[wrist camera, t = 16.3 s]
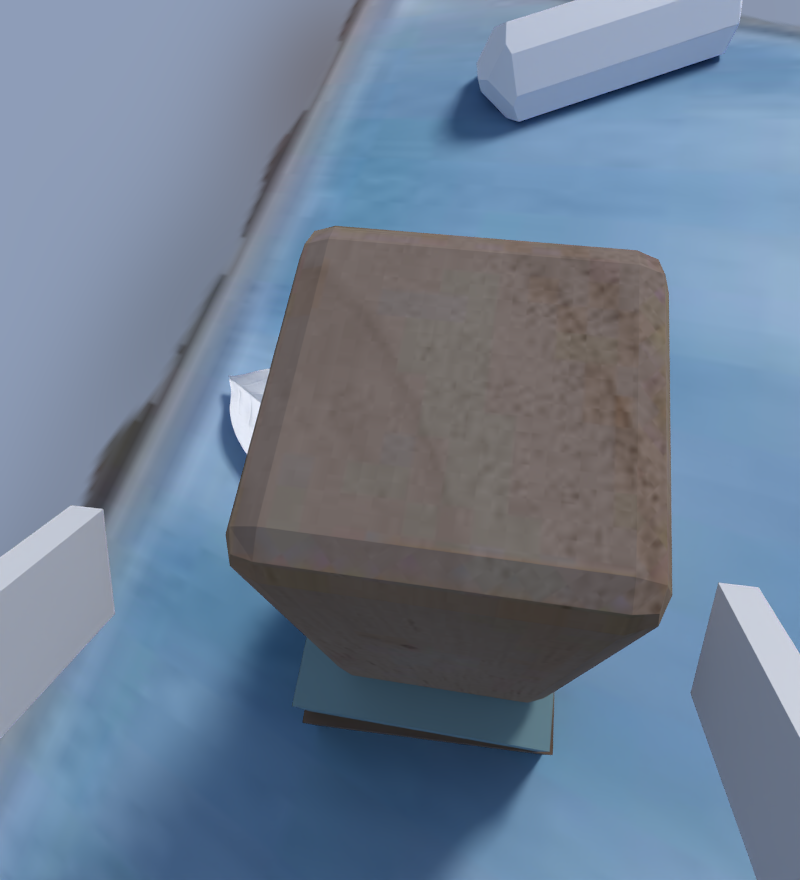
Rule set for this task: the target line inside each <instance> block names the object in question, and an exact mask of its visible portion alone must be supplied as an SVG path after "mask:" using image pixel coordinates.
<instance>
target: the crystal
mask: <svg viewBox="0 0 800 880" xmlns="http://www.w3.org/2000/svg"><path fill="white" fill-rule="evenodd" d="M742 2H743V0H575V1H572V2H569V3H566V4H562V5H559V6H556V7H553V8H550V9H547V10H543V11H540V12H537V13H534V14H531V15H528V16H525V17H521V18H518V19H515V20H512V21H509V22H506V23H503V24H501V25H498V26H496V27H494V29H493V31H492V33H491V35H490V37H489V39H488V41H487V43H486V45H485V47H484V49H483V51H482V53H481V55H480V57H479V59H478V61H477V73H478V81H479V86H480V90H481V92H482V93H483V94H484V95H485V96H486V97H487V98H488V99H489V100H490V101H491V102H492V103H493V104H494V105H495V107H496V108H497V109H498V110H499V111H500V112H501V113H502V114H503V115H504V116H505V117H506V118H509V119H512V120H515V121H518V122H520V121H523V120H526V119H529V118H532V117H535V116H538V115H541V114H544V113H547V112H550V111H553V110H556V109H559V108H562V107H565V106H568V105H571V104H574V103H577V102H580V101H583V100H586V99H589V98H592V97H595V96H598V95H601V94H604V93H607V92H610V91H613V90H616V89H619V88H622V87H625V86H628V85H631V84H634V83H637V82H640V81H643V80H646V79H649V78H652V77H655V76H658V75H661V74H664V73H667V72H670V71H673V70H676V69H679V68H682V67H685V66H688V65H691V64H694V63H697V62H700V61H703V60H706V59H709V58H712V57H715V56H718V55H721V54H724V53H725V51H726V49H727V47H728V45H729V43H730V41H731V39H732V37H733V35H734V33H735V31H736V29H737V27H738V25H739V22H740V15H741V9H742ZM711 32H712V33H711ZM708 33H709V34H708ZM705 34H706V35H705ZM702 35H703V36H702ZM699 36H700V37H699ZM696 37H697V38H696ZM693 38H694V39H693ZM690 39H691V40H690ZM687 40H688V41H687ZM684 41H685V42H684ZM681 42H682V43H681ZM644 54H645V55H644ZM641 55H642V56H641ZM638 56H639V57H638ZM635 57H636V58H635ZM632 58H633V59H632ZM629 59H630V60H629ZM626 60H627V61H626ZM623 61H624V62H623ZM571 78H572V79H571ZM568 79H569V80H568ZM565 80H566V81H565Z"/></svg>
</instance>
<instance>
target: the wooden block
mask: <svg viewBox="0 0 800 880" xmlns="http://www.w3.org/2000/svg"><path fill="white" fill-rule="evenodd" d="M226 541H227V548H228V555H229V562H230V566H231V567H232V568H233V569H234V570H235V571H236V572H237V573H238V574H239V575H240V576H242V577H243V578H244V579H245V580H246V581H247V582H248V583H249V584H250V585H251V586H252V587H253V588H254V589H256V590H257V591H258V592H259V593H260V594H261V595H262V596H263V597H264V598H265V599H266V600H267V601H268V602H270V603H271V604H272V605H273V606H274V607H275V608H276V609H277V610H278V611H279V612H280V613H281V614H282V615H284V616H285V617H286V618H287V619H288V620H289V621H290V622H291V623H292V624H293V625H294V626H295V627H296V628H297V629H299V630H300V631H301V632H302V633H303V634H304V635H305V636H306V637H307V638H308V639H309V640H310V641H311V642H313V643H314V644H315V645H316V646H317V647H318V648H319V649H320V650H321V651H322V652H323V653H324V654H325V655H327V656H328V657H329V658H330V659H331V660H332V661H333V662H334V663H335V664H336V665H337V666H338V667H340V668H342V669H343V670H345V671H346V672H348V673H349V674H351V675H354V676H360V677H366V678H373V679H379V680H385V681H392V682H398V683H405V684H411V685H417V686H424V687H430V688H436V689H443V690H449V691H456V692H462V693H468V694H475V695H481V696H487V697H494V698H500V699H507V700H513V701H519V702H526V703H528V702H532V701H536V700H539V699H543V698H545V697H547V696H548V695H550V694H551V693H553V692H555V691H556V690H558V689H559V688H561V687H563V686H564V685H566V684H567V683H569V682H570V681H572V680H574V679H575V678H577V677H578V676H580V675H582V674H583V673H585V672H586V671H588V670H590V669H591V668H593V667H594V666H596V665H598V664H599V663H601V662H602V661H604V660H605V659H607V658H609V657H610V656H612V655H613V654H615V653H617V652H618V651H620V650H621V649H623V648H625V647H626V646H628V645H629V644H631V643H632V642H634V641H636V640H637V639H639V638H640V637H642V636H644V635H645V634H647V633H648V632H650V631H652V630H653V629H655V628H656V627H658V626H659V623H660V621H661V619H662V617H663V614H664V612H665V610H666V608H667V605H668V603H669V601H670V599H671V597H672V536H671V447H670V358H669V292H668V286H667V281H666V276H665V273H664V271H663V269H662V267H661V264H660V262H659V260H658V259H656V258H653V257H651V256H649V255H646V254H644V253H642V252H639V251H637V250H625V249H613V248H601V247H588V246H576V245H564V244H551V243H539V242H527V241H515V240H502V239H490V238H478V237H465V236H453V235H441V234H428V233H416V232H404V231H392V230H379V229H367V228H355V227H342V226H333V227H329V228H325V229H321V230H318V231H314V233H313V234H312V235H311V237H310V238H309V239H308V241H307V242H306V243H305V245H304V248H303V251H302V254H301V257H300V259H299V263H298V267H297V270H296V274H295V278H294V281H293V285H292V289H291V293H290V296H289V300H288V304H287V308H286V311H285V315H284V319H283V322H282V326H281V330H280V334H279V337H278V341H277V345H276V349H275V352H274V356H273V360H272V363H271V367H270V371H269V375H268V378H267V382H266V386H265V389H264V393H263V397H262V401H261V404H260V408H259V412H258V416H257V419H256V423H255V427H254V430H253V434H252V438H251V442H250V445H249V449H248V453H247V456H246V460H245V464H244V468H243V471H242V475H241V479H240V483H239V486H238V490H237V494H236V497H235V501H234V505H233V509H232V512H231V516H230V520H229V524H228V527H227V531H226Z"/></svg>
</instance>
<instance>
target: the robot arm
mask: <svg viewBox="0 0 800 880" xmlns="http://www.w3.org/2000/svg"><path fill="white" fill-rule="evenodd" d="M114 614H115V609H114V600H113V591H112V582H111V573H110V565H109V556H108V547H107V538H106V529H105V521H104V512H103V509H97V508H89V507H81V506H72V505H71V506H70V507H68V508H67V509H66V510H64V511H63V512H62V513H60V514H59V515H57V516H56V517H55V518H53V519H52V520H51V521H49V522H48V523H46V524H45V525H44V526H43V527H41V528H40V529H38V530H37V531H36V532H34V533H33V534H31V535H30V536H29V537H27V538H26V539H25V540H23V541H22V542H21V543H19V544H18V545H16V546H15V547H14V548H12V549H11V550H10V551H8V552H7V553H5V554H4V555H3V556H1V557H0V738H1V737H2V736H3V735H4V734H5V733H6V732H7V731H8V730H9V729H10V728H11V727H12V725H13V724H14V723H15V722H16V721H17V720H18V719H19V718H20V717H21V716H22V715H23V713H24V712H25V711H26V710H27V709H28V708H29V707H30V706H31V705H32V704H33V703H34V701H35V700H36V699H37V698H38V697H39V696H40V695H41V694H42V693H43V692H44V691H45V689H46V688H47V687H48V686H49V685H50V684H51V683H52V682H53V681H54V680H55V679H56V678H57V676H58V675H59V674H60V673H61V672H62V671H63V670H64V669H65V668H66V667H67V666H68V664H69V663H70V662H71V661H72V660H73V659H74V658H75V657H76V656H77V655H78V654H79V652H80V651H81V650H82V649H83V648H84V647H85V646H86V645H87V644H88V643H89V642H90V640H91V639H92V638H93V637H94V636H95V635H96V634H97V633H98V632H99V631H100V630H101V629H102V627H103V626H104V625H105V624H106V623H107V622H108V621H109V620H110V619H111V618H112V617H113V615H114ZM691 696H692V699H693V702H694V704H695V707H696V710H697V713H698V716H699V719H700V721H701V724H702V727H703V730H704V733H705V735H706V738H707V741H708V744H709V747H710V749H711V752H712V755H713V758H714V761H715V763H716V766H717V769H718V772H719V775H720V777H721V780H722V783H723V786H724V789H725V791H726V794H727V797H728V800H729V803H730V806H731V808H732V811H733V814H734V817H735V820H736V822H737V825H738V828H739V831H740V834H741V836H742V839H743V842H744V845H745V848H746V850H747V853H748V856H749V859H750V862H751V864H752V867H753V870H754V873H755V876H756V879H757V880H800V654H799V652H798V650H797V649H796V647H795V645H794V644H793V642H792V641H791V639H790V637H789V636H788V634H787V633H786V631H785V629H784V628H783V626H782V624H781V623H780V621H779V620H778V618H777V616H776V615H775V613H774V612H773V610H772V608H771V607H770V605H769V603H768V602H767V600H766V599H765V597H764V595H763V594H762V592H761V591H760V589H759V587H750V586H742V585H733V584H725V583H718V586H717V590H716V594H715V598H714V602H713V606H712V610H711V614H710V618H709V622H708V626H707V630H706V634H705V638H704V642H703V646H702V650H701V654H700V658H699V662H698V666H697V670H696V674H695V678H694V682H693V686H692V690H691Z"/></svg>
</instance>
